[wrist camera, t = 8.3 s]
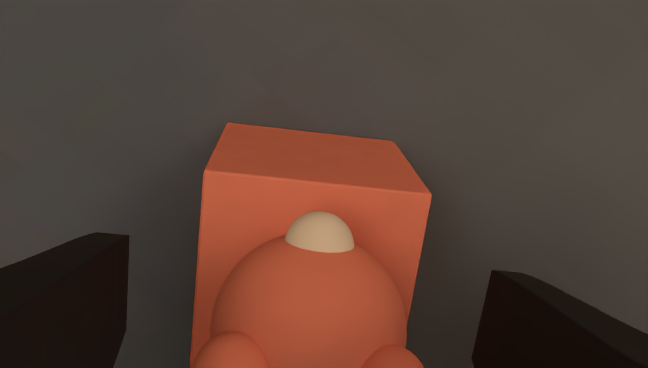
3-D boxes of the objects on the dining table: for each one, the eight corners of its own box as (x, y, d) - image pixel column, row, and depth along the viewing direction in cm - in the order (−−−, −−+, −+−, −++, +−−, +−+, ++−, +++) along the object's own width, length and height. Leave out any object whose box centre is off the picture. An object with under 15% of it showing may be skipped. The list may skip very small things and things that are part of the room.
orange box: (369, 290, 17) (435, 530, 9) (214, 276, 17) (150, 516, 9) (394, 140, 16) (493, 279, 8) (226, 121, 15) (164, 249, 8)
